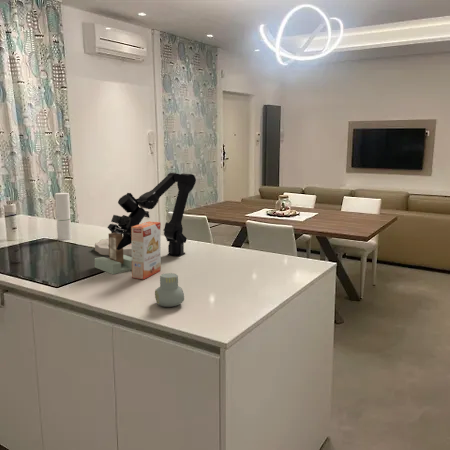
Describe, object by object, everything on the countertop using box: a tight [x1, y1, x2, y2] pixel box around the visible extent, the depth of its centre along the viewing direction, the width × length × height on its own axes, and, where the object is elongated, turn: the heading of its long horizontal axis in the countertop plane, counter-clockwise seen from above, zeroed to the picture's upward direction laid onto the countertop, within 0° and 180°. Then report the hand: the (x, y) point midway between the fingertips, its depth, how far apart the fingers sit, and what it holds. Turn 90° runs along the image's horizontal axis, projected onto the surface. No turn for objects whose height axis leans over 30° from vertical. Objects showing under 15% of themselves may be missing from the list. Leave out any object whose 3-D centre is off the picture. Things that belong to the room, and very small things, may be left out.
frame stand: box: [94, 255, 132, 275], centre depth 193 cm, size 14×12×4 cm
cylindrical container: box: [54, 192, 72, 241], centre depth 247 cm, size 7×7×25 cm
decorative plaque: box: [94, 238, 132, 257], centre depth 227 cm, size 30×4×30 cm
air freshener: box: [154, 272, 185, 308], centre depth 150 cm, size 11×8×10 cm
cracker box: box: [131, 221, 162, 280], centre depth 182 cm, size 14×6×21 cm, turn 160°
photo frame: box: [108, 232, 124, 264], centre depth 191 cm, size 6×3×12 cm, turn 46°
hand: (113, 248), depth 190 cm, fingers closed on photo frame, 6 cm apart
